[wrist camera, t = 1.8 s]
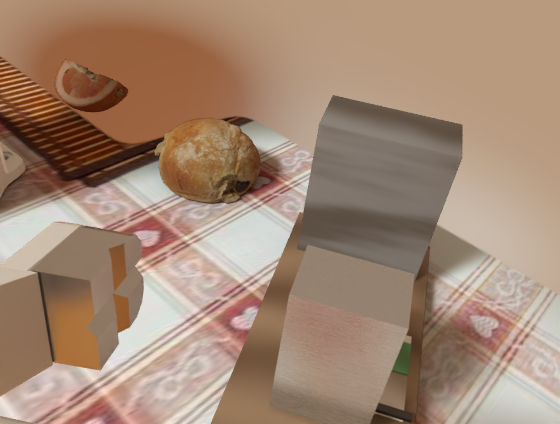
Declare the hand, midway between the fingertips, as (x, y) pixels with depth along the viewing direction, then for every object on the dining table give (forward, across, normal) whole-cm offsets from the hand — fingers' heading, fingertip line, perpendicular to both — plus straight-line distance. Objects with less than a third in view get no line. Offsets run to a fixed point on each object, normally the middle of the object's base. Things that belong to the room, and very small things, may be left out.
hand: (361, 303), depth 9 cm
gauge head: (+19, -1, +20) cm, 27 cm away
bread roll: (+40, +16, +17) cm, 47 cm away
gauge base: (+25, 0, +21) cm, 32 cm away
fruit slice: (+48, +32, +14) cm, 60 cm away
